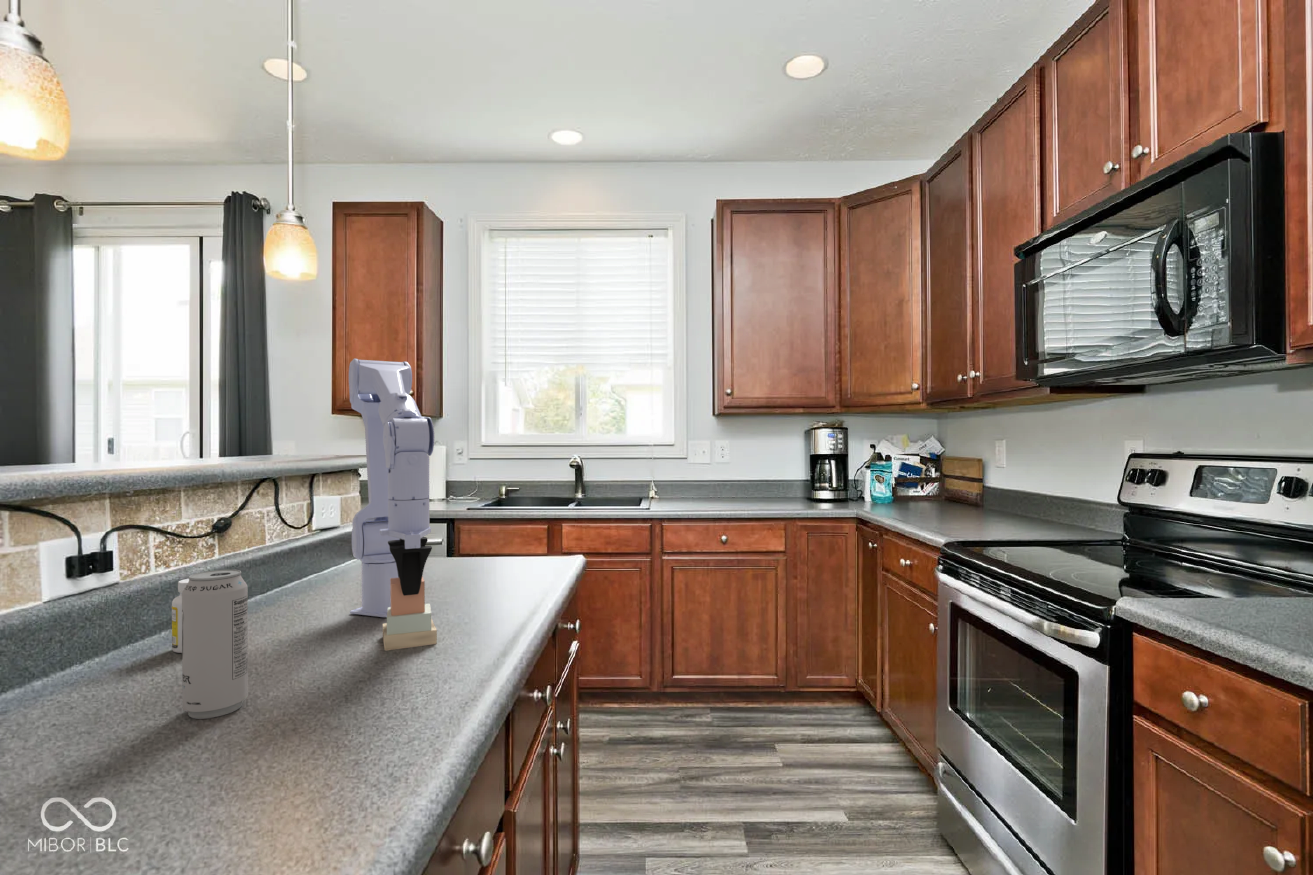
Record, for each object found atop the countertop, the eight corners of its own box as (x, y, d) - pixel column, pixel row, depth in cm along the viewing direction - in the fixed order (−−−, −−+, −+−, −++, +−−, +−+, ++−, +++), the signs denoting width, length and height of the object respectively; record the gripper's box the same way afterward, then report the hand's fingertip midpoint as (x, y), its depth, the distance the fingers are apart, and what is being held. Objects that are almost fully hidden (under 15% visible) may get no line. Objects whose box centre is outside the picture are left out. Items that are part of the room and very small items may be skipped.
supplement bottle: (227, 642, 95) (226, 576, 96) (197, 654, 90) (197, 584, 90) (193, 641, 96) (192, 575, 96) (161, 653, 91) (161, 583, 91)
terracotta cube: (390, 608, 97) (390, 578, 97) (422, 604, 99) (422, 575, 99) (391, 615, 93) (391, 584, 93) (424, 612, 95) (424, 581, 95)
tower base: (382, 640, 98) (382, 623, 98) (431, 634, 101) (431, 618, 101) (384, 653, 91) (384, 636, 91) (436, 646, 94) (436, 629, 94)
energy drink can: (192, 702, 73) (191, 570, 73) (253, 695, 75) (253, 566, 76) (173, 724, 68) (173, 581, 68) (240, 715, 70) (240, 576, 70)
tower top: (387, 623, 98) (387, 607, 98) (430, 619, 100) (429, 603, 100) (386, 635, 92) (386, 617, 92) (431, 630, 94) (431, 613, 94)
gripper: (378, 496, 101) (378, 583, 101) (381, 504, 88) (381, 604, 88) (426, 494, 104) (426, 578, 104) (435, 501, 91) (436, 598, 91)
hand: (409, 590), depth 96 cm, fingers open, 5 cm apart
